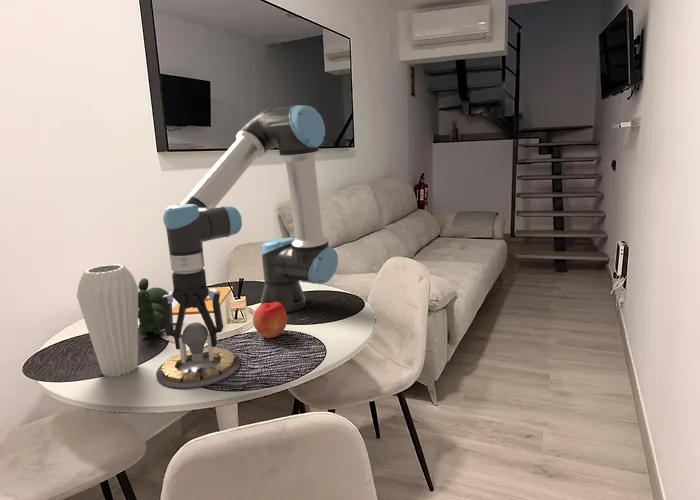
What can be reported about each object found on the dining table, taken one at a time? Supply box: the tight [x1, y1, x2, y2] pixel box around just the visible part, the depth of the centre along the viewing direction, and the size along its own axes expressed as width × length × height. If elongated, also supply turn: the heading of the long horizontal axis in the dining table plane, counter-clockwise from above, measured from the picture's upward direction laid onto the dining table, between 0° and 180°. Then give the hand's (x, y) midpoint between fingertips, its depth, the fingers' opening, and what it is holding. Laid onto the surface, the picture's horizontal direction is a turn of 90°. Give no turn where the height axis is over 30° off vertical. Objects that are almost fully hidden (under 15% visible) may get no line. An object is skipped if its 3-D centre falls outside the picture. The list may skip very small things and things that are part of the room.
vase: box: [76, 263, 139, 378], centre depth 117 cm, size 13×13×26 cm
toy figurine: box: [138, 277, 170, 336], centre depth 145 cm, size 9×19×25 cm
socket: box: [155, 346, 241, 390], centre depth 118 cm, size 20×20×2 cm
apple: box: [252, 302, 288, 339], centre depth 136 cm, size 10×10×10 cm
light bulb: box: [182, 322, 209, 362], centre depth 117 cm, size 6×6×10 cm
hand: (198, 359), depth 118 cm, fingers closed on light bulb, 6 cm apart
